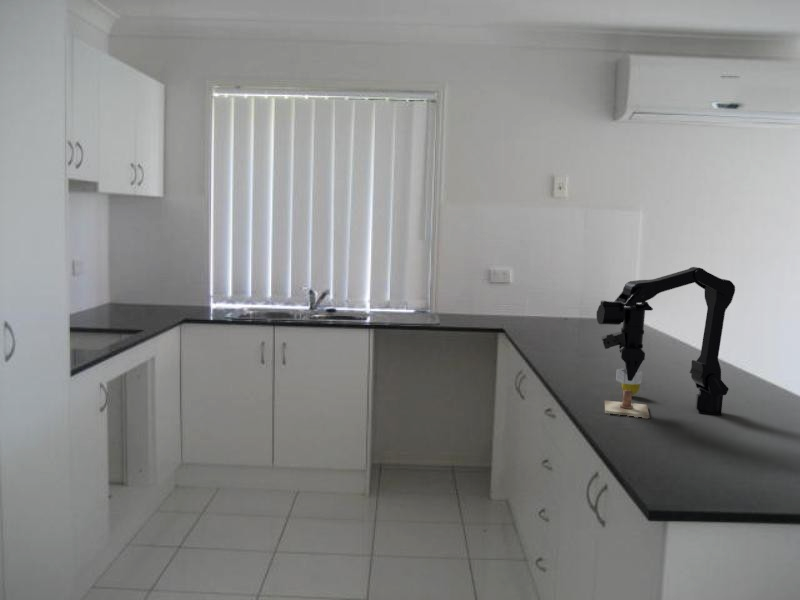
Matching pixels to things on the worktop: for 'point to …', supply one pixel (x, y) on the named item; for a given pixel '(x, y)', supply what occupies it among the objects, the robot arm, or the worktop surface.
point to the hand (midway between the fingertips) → (629, 378)
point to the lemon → (631, 387)
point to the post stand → (627, 407)
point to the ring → (623, 378)
